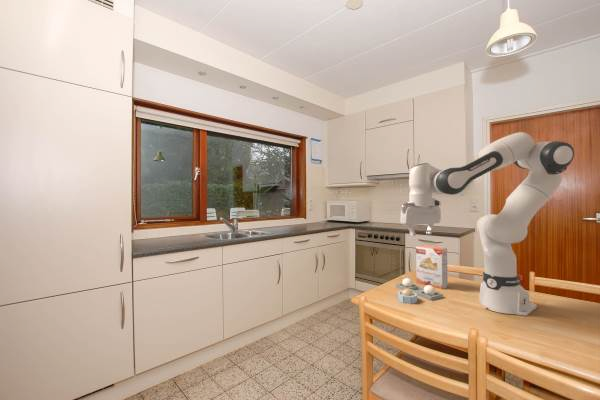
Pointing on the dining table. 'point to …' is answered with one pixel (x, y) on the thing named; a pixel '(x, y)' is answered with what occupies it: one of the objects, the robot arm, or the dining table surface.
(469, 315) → the dining table surface
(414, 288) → the carton
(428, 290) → the cream egg
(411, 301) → the egg cup
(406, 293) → the brown egg
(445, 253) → the cracker box
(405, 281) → the cream egg
